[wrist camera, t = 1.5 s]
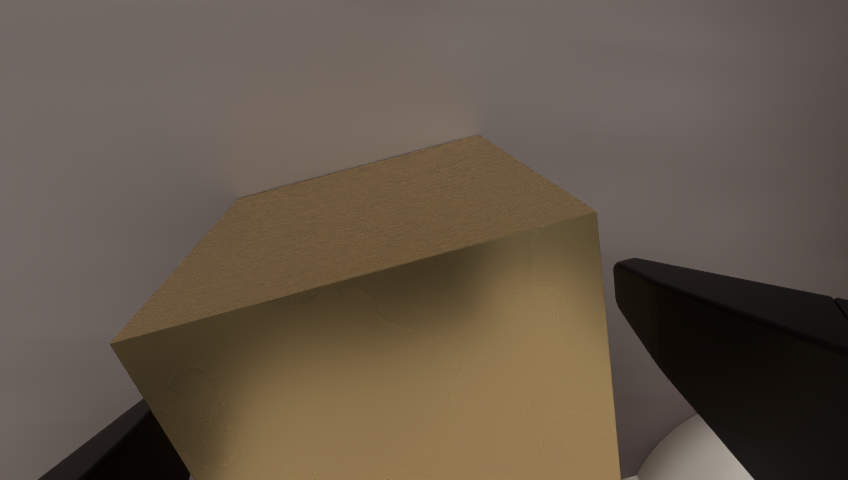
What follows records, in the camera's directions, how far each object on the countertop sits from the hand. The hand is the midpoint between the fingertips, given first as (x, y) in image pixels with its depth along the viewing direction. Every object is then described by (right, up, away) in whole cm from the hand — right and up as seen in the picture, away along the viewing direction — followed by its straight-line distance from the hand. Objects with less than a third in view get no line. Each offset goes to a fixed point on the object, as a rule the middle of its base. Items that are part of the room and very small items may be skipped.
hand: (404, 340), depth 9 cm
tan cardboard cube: (0, +1, +3) cm, 3 cm away
